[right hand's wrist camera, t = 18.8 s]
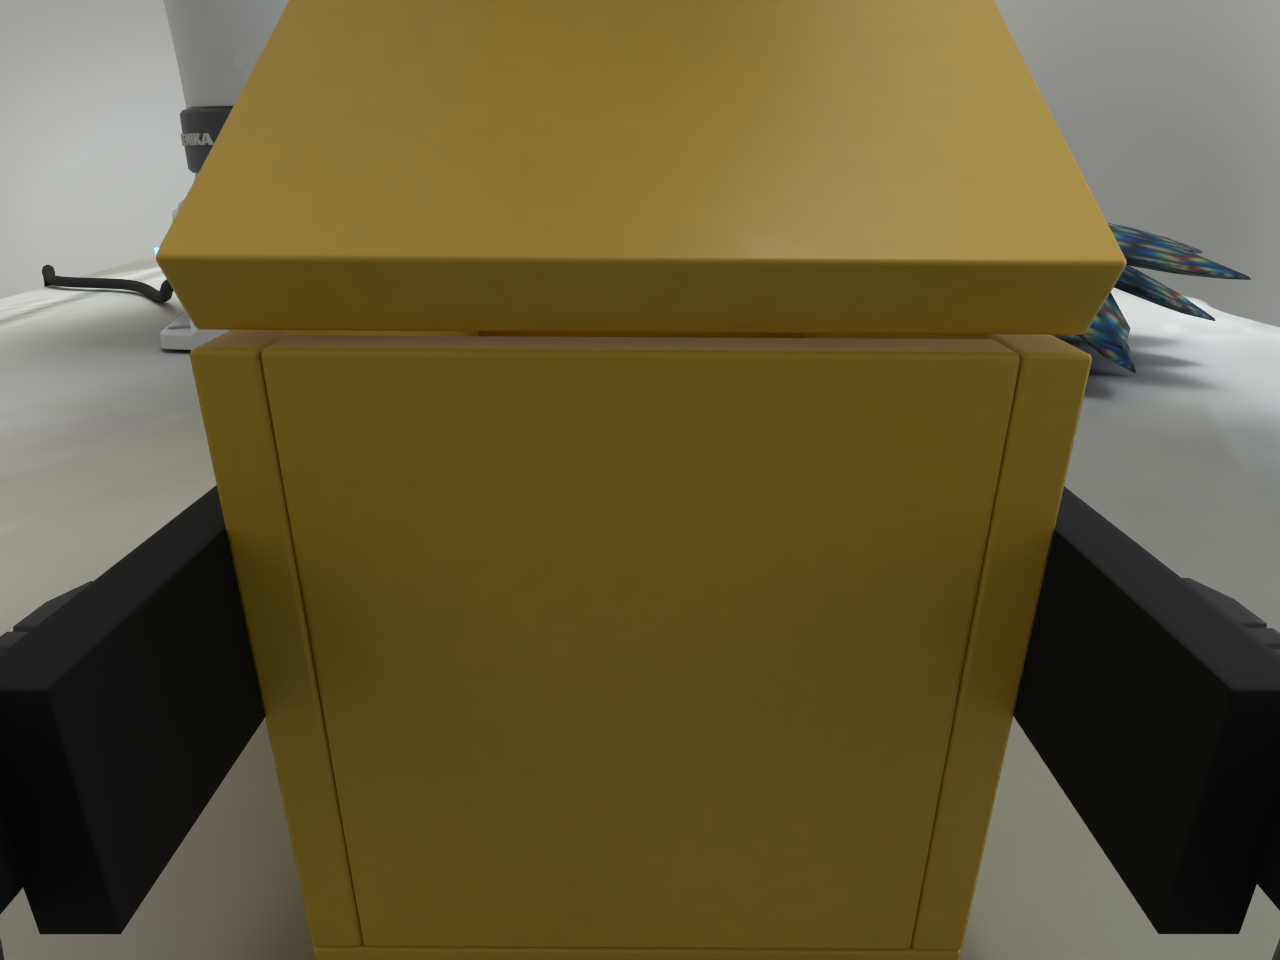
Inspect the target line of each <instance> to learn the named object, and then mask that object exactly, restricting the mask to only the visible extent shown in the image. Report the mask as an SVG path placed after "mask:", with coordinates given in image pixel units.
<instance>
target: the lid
mask: <svg viewBox="0 0 1280 960" xmlns="http://www.w3.org/2000/svg"><path fill="white" fill-rule="evenodd" d="M156 261H157V263H158V264H159V266H160V268H161V269H162V271H163V273H164V275H165V276H166V278H167V280H168V281H169V283H170V285H171V287H172V288H173V290H174V292H175V293H176V295H177V297H178V298H179V300H180V302H181V304H182V305H183V307H184V309H185V310H186V312H187V314H188V316H189V317H190V319H191V321H192V322H193V324H194V326H195V327H196V328H197V329H200V330H351V331H519V332H687V333H855V334H1023V335H1082V334H1084V333H1086V332H1087V330H1088V328H1089V327H1090V325H1091V324H1092V322H1093V320H1094V319H1095V317H1096V315H1097V314H1098V312H1099V310H1100V309H1101V307H1102V305H1103V304H1104V302H1105V300H1106V299H1107V297H1108V295H1109V294H1110V292H1111V290H1112V289H1113V287H1114V285H1115V284H1116V282H1117V280H1118V279H1119V277H1120V275H1121V274H1122V272H1123V270H1124V269H1125V267H1126V259H1125V257H1124V255H1123V253H1122V251H1121V249H1120V247H1119V245H1118V243H1117V241H1116V239H1115V237H1114V235H1113V233H1112V231H1111V229H1110V227H1109V226H1108V224H1107V222H1106V220H1105V218H1104V216H1103V214H1102V212H1101V210H1100V208H1099V206H1098V204H1097V202H1096V200H1095V198H1094V196H1093V194H1092V192H1091V190H1090V188H1089V186H1088V184H1087V182H1086V180H1085V179H1084V177H1083V175H1082V173H1081V171H1080V169H1079V167H1078V165H1077V163H1076V161H1075V159H1074V157H1073V155H1072V153H1071V151H1070V149H1069V147H1068V145H1067V143H1066V141H1065V139H1064V137H1063V135H1062V133H1061V131H1060V129H1059V127H1058V126H1057V124H1056V122H1055V120H1054V118H1053V116H1052V114H1051V112H1050V110H1049V108H1048V106H1047V104H1046V102H1045V100H1044V98H1043V96H1042V94H1041V92H1040V90H1039V88H1038V86H1037V84H1036V82H1035V80H1034V78H1033V77H1032V75H1031V73H1030V71H1029V69H1028V67H1027V65H1026V63H1025V61H1024V59H1023V57H1022V55H1021V53H1020V51H1019V49H1018V47H1017V45H1016V43H1015V41H1014V39H1013V37H1012V35H1011V33H1010V32H1009V29H1008V27H1007V26H1006V24H1005V22H1004V20H1003V18H1002V16H1001V14H1000V12H999V10H998V8H997V6H996V4H995V2H994V0H289V2H288V3H287V5H286V7H285V9H284V11H283V13H282V15H281V17H280V19H279V21H278V23H277V24H276V26H275V28H274V30H273V32H272V34H271V36H270V38H269V40H268V42H267V44H266V45H265V47H264V49H263V51H262V53H261V55H260V57H259V59H258V61H257V63H256V65H255V66H254V68H253V70H252V72H251V74H250V76H249V78H248V80H247V82H246V84H245V86H244V87H243V89H242V91H241V93H240V95H239V97H238V99H237V101H236V103H235V105H234V107H233V108H232V110H231V112H230V114H229V116H228V118H227V120H226V122H225V124H224V126H223V128H222V129H221V131H220V133H219V135H218V137H217V139H216V141H215V143H214V145H213V147H212V149H211V150H210V152H209V154H208V156H207V158H206V160H205V162H204V164H203V166H202V168H201V170H200V171H199V173H198V175H197V177H196V179H195V181H194V183H193V185H192V187H191V189H190V191H189V192H188V195H187V196H186V198H185V200H184V202H183V204H182V206H181V208H180V210H179V212H178V213H177V215H176V217H175V219H174V221H173V223H172V225H171V227H170V229H169V231H168V233H167V235H166V237H165V238H164V240H163V242H162V244H161V246H160V248H159V250H158V252H157V254H156Z"/></svg>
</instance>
